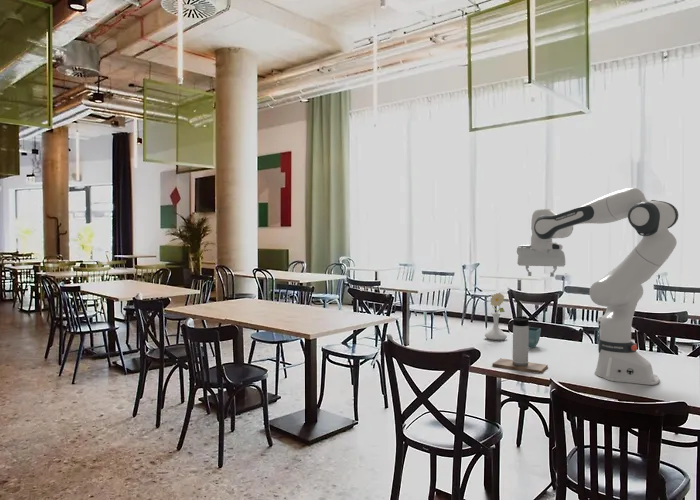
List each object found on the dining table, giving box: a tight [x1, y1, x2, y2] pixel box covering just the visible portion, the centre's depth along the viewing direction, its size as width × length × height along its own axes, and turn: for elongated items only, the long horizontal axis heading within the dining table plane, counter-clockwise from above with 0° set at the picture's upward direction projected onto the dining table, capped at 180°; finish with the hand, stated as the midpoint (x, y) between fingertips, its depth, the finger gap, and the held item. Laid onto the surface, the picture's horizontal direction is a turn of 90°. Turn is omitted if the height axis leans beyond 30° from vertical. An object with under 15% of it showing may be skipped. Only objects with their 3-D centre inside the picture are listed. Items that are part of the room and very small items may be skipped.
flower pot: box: [528, 326, 542, 349], centre depth 262 cm, size 9×9×9 cm
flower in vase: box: [484, 292, 508, 341], centre depth 278 cm, size 13×11×25 cm
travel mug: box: [512, 315, 530, 366], centre depth 223 cm, size 6×7×20 cm
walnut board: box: [491, 357, 549, 374], centre depth 224 cm, size 20×11×1 cm, turn 57°
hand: (540, 276), depth 237 cm, fingers open, 8 cm apart
